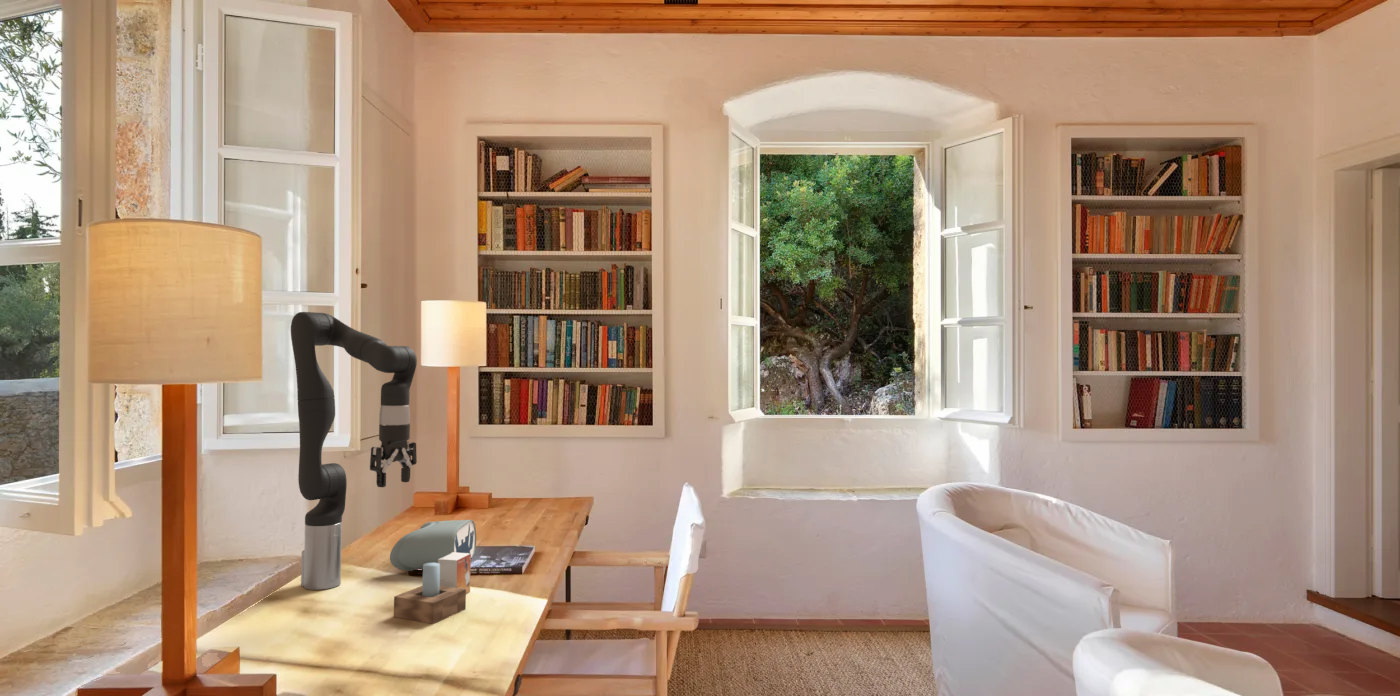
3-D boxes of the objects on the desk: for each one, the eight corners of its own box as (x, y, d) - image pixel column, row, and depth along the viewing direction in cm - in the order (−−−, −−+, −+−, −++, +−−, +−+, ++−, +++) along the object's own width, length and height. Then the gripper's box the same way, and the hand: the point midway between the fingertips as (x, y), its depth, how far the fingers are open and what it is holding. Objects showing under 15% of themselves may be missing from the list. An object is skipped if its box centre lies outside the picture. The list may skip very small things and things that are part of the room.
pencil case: (454, 576, 230) (453, 531, 230) (389, 577, 231) (387, 533, 231) (477, 556, 252) (475, 515, 252) (417, 558, 253) (416, 517, 253)
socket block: (393, 616, 195) (394, 596, 195) (427, 602, 206) (427, 583, 206) (433, 623, 191) (433, 603, 191) (465, 609, 202) (465, 589, 202)
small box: (456, 600, 209) (456, 560, 209) (436, 599, 210) (437, 558, 210) (470, 591, 217) (471, 552, 217) (451, 590, 218) (452, 551, 218)
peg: (418, 614, 198) (419, 565, 198) (429, 609, 201) (430, 561, 201) (431, 616, 196) (432, 567, 196) (442, 611, 200) (443, 563, 200)
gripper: (402, 419, 216) (401, 479, 216) (362, 423, 203) (361, 487, 203) (425, 421, 214) (423, 481, 214) (385, 425, 200) (384, 490, 200)
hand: (393, 484), depth 208 cm, fingers open, 8 cm apart
